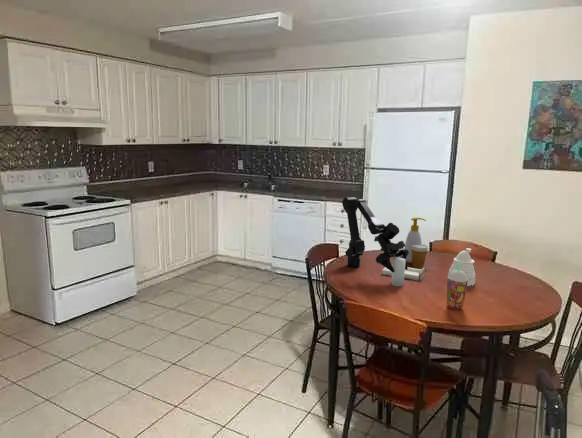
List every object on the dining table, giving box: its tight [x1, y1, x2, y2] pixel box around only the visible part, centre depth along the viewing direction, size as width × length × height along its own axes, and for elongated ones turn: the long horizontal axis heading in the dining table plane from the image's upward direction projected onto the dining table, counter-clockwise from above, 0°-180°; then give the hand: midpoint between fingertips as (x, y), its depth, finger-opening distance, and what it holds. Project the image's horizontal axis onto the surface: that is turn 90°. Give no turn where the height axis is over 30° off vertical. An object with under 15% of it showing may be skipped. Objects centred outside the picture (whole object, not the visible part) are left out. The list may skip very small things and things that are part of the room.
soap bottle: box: [403, 217, 426, 264], centre depth 251 cm, size 11×12×26 cm
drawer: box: [381, 264, 426, 282], centre depth 229 cm, size 20×12×4 cm, turn 63°
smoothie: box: [446, 264, 468, 311], centre depth 184 cm, size 8×8×20 cm
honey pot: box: [448, 248, 476, 287], centre depth 218 cm, size 13×13×18 cm
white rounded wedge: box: [390, 257, 406, 287], centre depth 212 cm, size 6×6×13 cm
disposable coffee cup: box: [411, 243, 429, 269], centre depth 243 cm, size 10×10×12 cm
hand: (400, 270), depth 211 cm, fingers open, 9 cm apart
